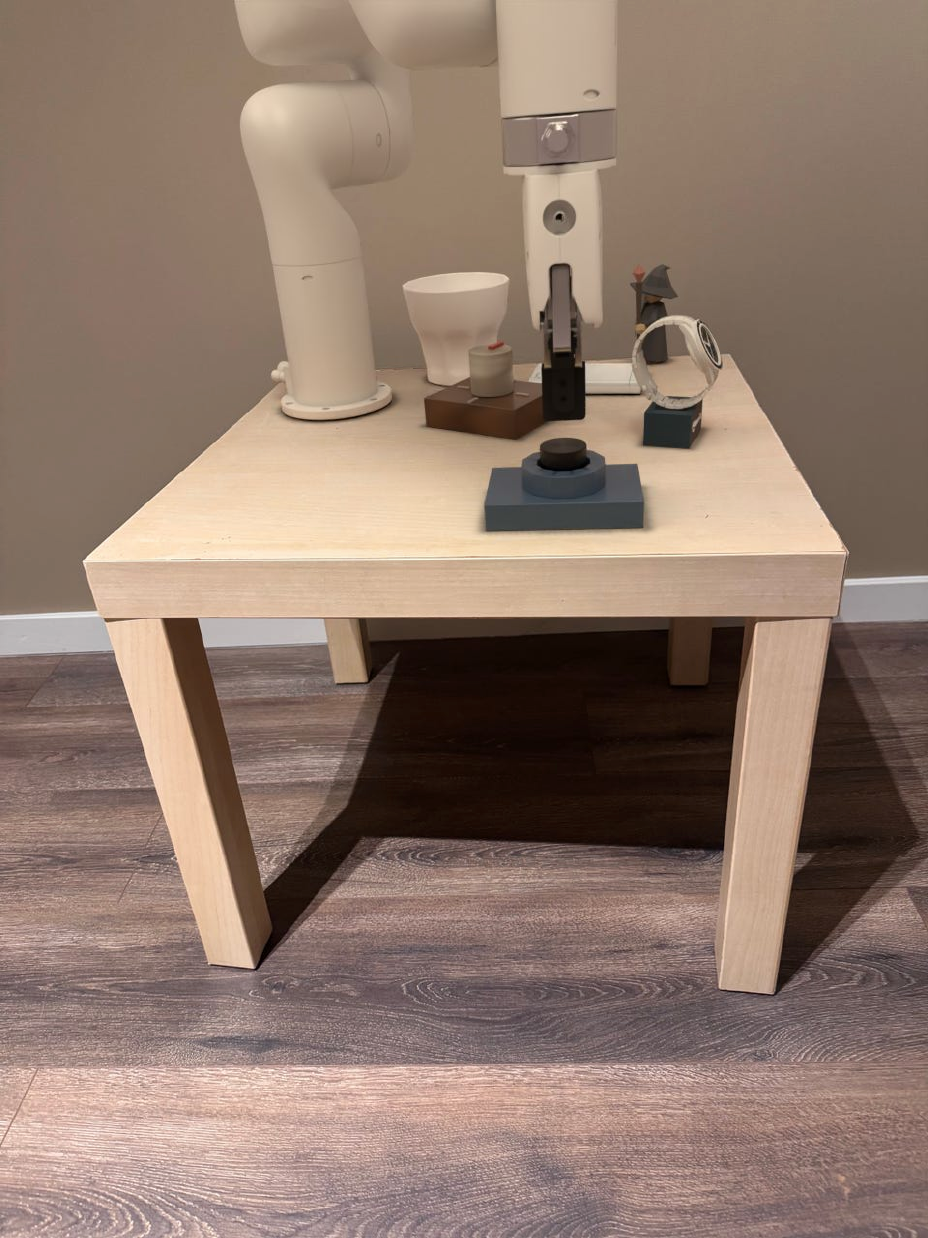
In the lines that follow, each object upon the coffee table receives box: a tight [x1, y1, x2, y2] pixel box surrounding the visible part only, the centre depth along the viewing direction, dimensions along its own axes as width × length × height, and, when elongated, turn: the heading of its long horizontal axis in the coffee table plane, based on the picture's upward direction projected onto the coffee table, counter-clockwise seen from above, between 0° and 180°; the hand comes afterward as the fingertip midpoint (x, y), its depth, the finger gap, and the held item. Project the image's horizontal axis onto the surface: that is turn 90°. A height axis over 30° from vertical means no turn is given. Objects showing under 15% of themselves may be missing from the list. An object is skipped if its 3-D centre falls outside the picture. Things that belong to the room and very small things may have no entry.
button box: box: [483, 449, 645, 532], centre depth 72 cm, size 12×8×4 cm, turn 84°
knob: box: [468, 341, 514, 397], centre depth 91 cm, size 4×4×4 cm
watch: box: [630, 314, 724, 450], centre depth 83 cm, size 6×8×11 cm
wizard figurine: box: [630, 263, 679, 365], centre depth 106 cm, size 8×6×12 cm
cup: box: [401, 271, 510, 387], centre depth 107 cm, size 12×12×11 cm
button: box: [539, 437, 588, 472], centre depth 70 cm, size 4×4×2 cm
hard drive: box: [527, 362, 642, 395], centre depth 103 cm, size 2×8×12 cm
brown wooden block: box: [423, 377, 549, 440], centre depth 93 cm, size 11×9×3 cm
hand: (564, 416), depth 69 cm, fingers closed
